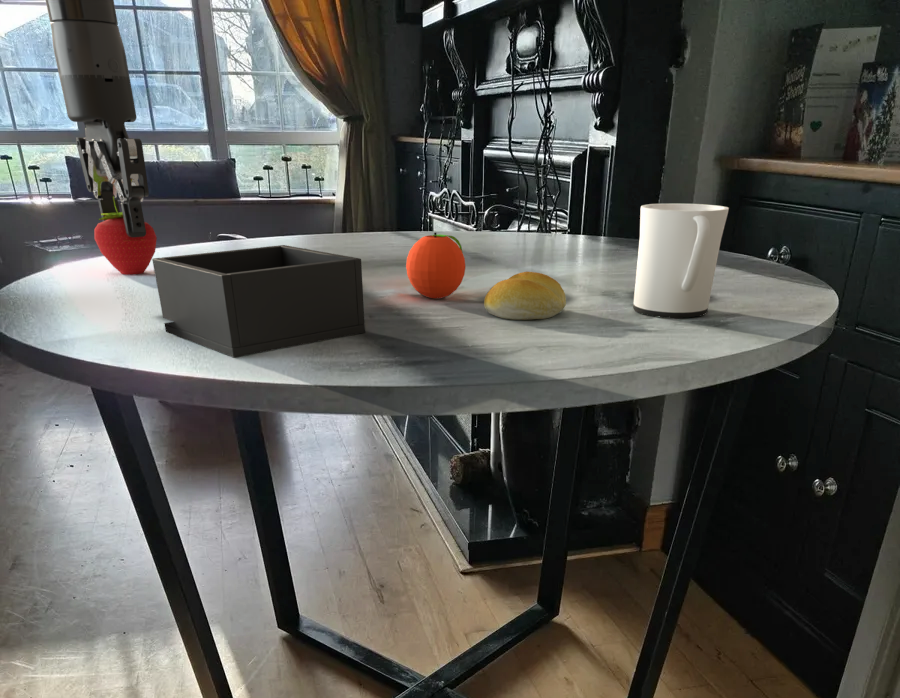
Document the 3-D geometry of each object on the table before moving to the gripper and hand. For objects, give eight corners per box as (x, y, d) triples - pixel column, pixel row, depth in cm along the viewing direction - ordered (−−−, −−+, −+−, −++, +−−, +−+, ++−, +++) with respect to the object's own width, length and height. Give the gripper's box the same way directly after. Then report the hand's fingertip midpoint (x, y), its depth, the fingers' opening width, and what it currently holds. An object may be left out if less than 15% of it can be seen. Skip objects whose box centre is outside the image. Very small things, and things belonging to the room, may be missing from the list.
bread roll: (473, 317, 83) (473, 277, 81) (508, 302, 90) (510, 265, 88) (544, 325, 80) (547, 283, 78) (575, 309, 87) (578, 271, 85)
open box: (233, 357, 69) (221, 275, 65) (165, 332, 77) (151, 258, 74) (365, 332, 77) (361, 258, 74) (290, 312, 86) (283, 244, 82)
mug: (619, 303, 90) (630, 203, 84) (693, 302, 90) (709, 203, 85) (649, 324, 80) (663, 213, 75) (732, 322, 81) (752, 212, 76)
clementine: (442, 289, 97) (441, 227, 94) (483, 296, 93) (484, 231, 90) (394, 298, 93) (392, 232, 89) (436, 306, 88) (435, 237, 85)
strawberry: (156, 287, 98) (140, 197, 93) (96, 286, 98) (77, 197, 93) (170, 279, 103) (156, 194, 98) (113, 278, 103) (96, 193, 98)
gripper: (38, 74, 91) (73, 231, 100) (85, 68, 82) (119, 242, 91) (102, 77, 95) (130, 227, 104) (153, 72, 86) (179, 237, 95)
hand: (125, 233), depth 97 cm, fingers closed on strawberry, 6 cm apart
